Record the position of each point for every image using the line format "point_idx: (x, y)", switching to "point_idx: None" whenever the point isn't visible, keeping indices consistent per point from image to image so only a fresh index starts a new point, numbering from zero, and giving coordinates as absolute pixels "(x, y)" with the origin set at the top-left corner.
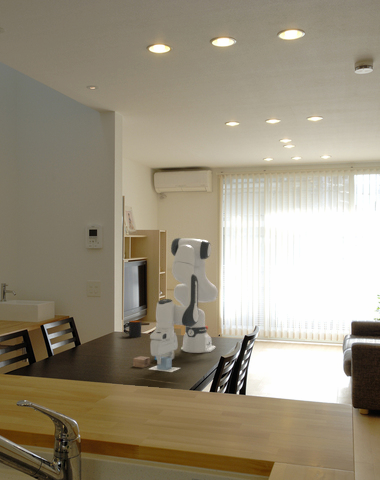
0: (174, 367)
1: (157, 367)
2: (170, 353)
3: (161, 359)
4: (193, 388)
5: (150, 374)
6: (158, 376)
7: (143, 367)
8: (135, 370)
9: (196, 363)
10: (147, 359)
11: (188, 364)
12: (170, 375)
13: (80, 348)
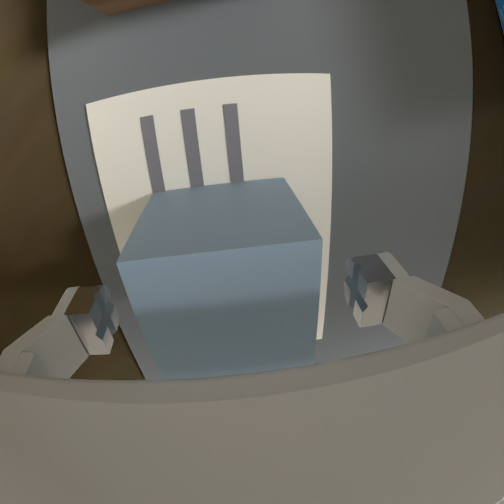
0: (320, 291)
1: (149, 200)
2: (427, 327)
3: (143, 322)
4: None
5: (8, 249)
6: (28, 326)
7: (106, 12)
8: (13, 26)
9: (498, 298)
10: None
11: (475, 279)
12: (107, 369)
13: None
